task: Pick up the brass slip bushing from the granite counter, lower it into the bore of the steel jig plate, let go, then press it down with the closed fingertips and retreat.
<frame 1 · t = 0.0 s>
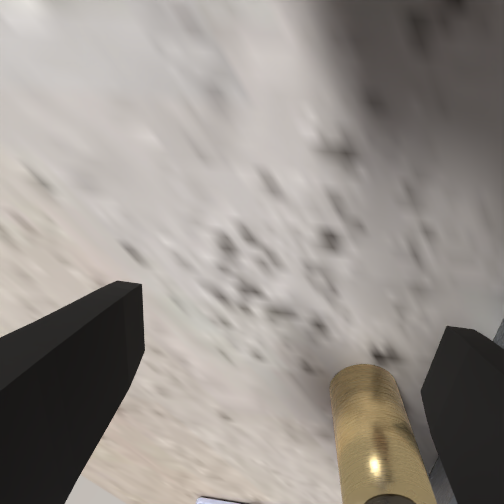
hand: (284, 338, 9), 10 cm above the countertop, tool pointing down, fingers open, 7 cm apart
slip bushing: (362, 389, 22), on the countertop
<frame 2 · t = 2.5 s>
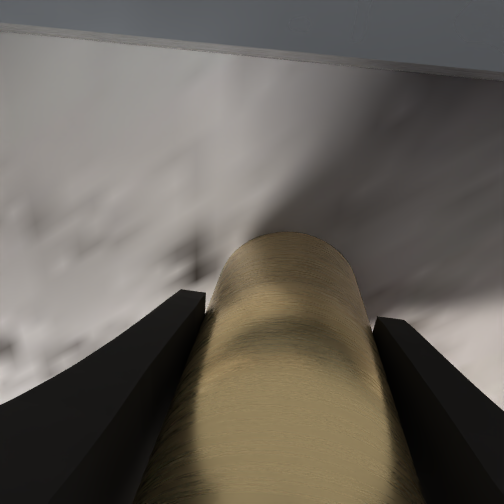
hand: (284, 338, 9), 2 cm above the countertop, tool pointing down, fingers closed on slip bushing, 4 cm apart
slip bushing: (286, 296, 10), on the countertop, touching gripper
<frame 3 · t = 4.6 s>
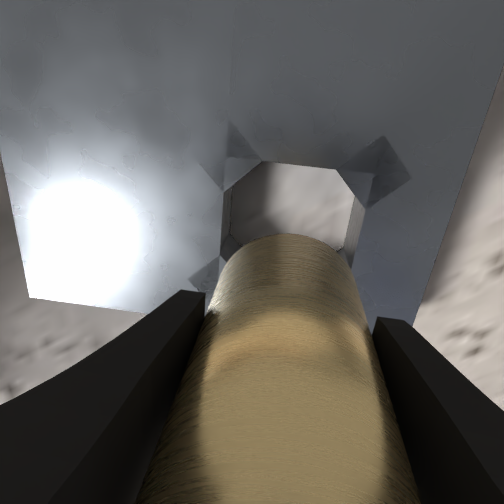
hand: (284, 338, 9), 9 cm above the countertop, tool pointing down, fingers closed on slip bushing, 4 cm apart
slip bushing: (286, 297, 11), point 7 cm above the countertop, touching gripper
jig plate: (229, 163, 16), on the countertop
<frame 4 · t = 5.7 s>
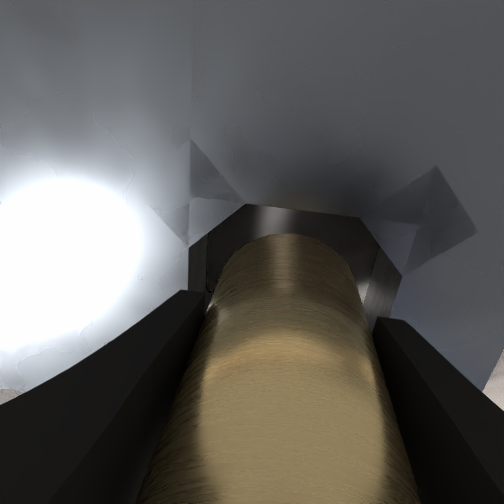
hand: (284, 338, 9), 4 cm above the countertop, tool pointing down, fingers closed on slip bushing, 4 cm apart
slip bushing: (286, 297, 11), point 2 cm above the countertop, touching gripper
jig plate: (203, 197, 12), on the countertop
when the fingers open (3 cm above the countertop, at t = 6.7 s): slip bushing drops 1 cm, resting in jig plate.
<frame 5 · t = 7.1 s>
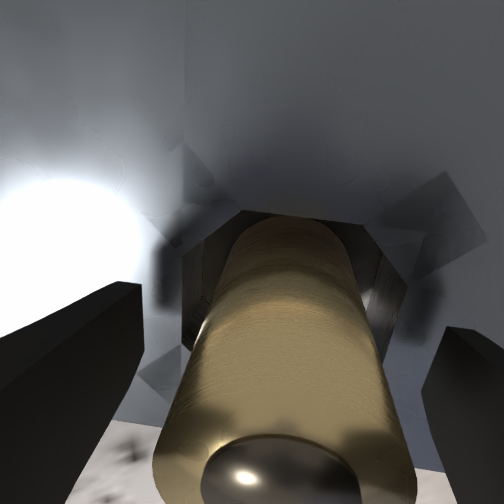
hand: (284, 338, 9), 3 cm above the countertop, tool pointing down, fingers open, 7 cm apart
slip bushing: (287, 273, 12), resting in jig plate
jig plate: (198, 202, 11), on the countertop
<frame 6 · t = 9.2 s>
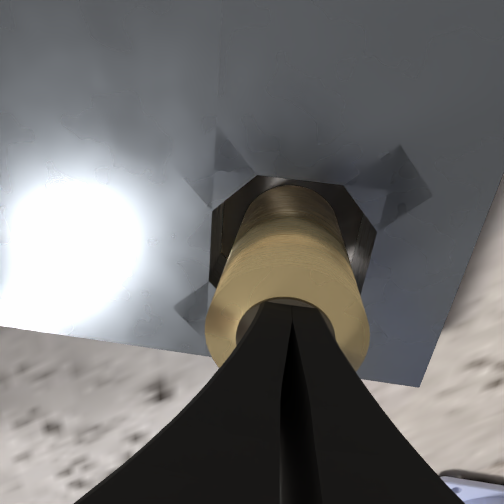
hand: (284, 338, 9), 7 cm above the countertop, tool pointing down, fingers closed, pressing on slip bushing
slip bushing: (289, 232, 15), resting in jig plate, touching gripper
jig plate: (220, 175, 14), on the countertop
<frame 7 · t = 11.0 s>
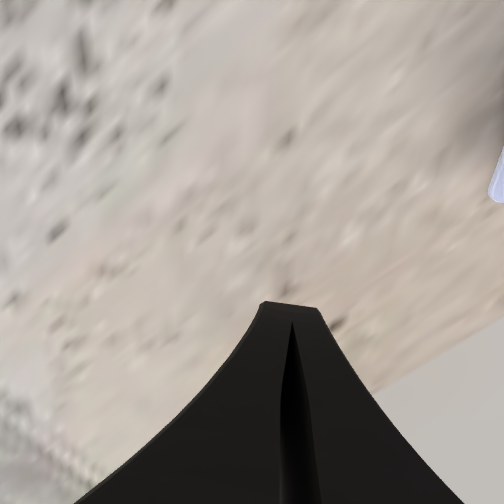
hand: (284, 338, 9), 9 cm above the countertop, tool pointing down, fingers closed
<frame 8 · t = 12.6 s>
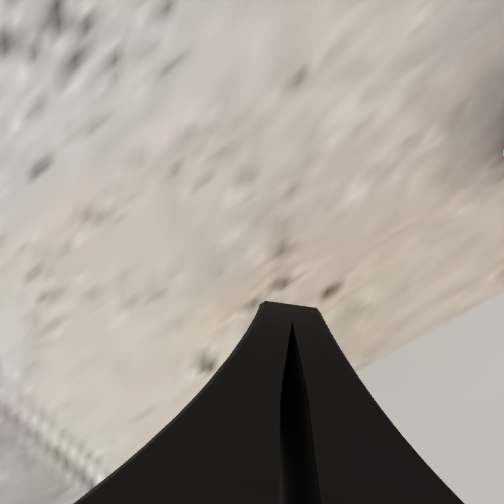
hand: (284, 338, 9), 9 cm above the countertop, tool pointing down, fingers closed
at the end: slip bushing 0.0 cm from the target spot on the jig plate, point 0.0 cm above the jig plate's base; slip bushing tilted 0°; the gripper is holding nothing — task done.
